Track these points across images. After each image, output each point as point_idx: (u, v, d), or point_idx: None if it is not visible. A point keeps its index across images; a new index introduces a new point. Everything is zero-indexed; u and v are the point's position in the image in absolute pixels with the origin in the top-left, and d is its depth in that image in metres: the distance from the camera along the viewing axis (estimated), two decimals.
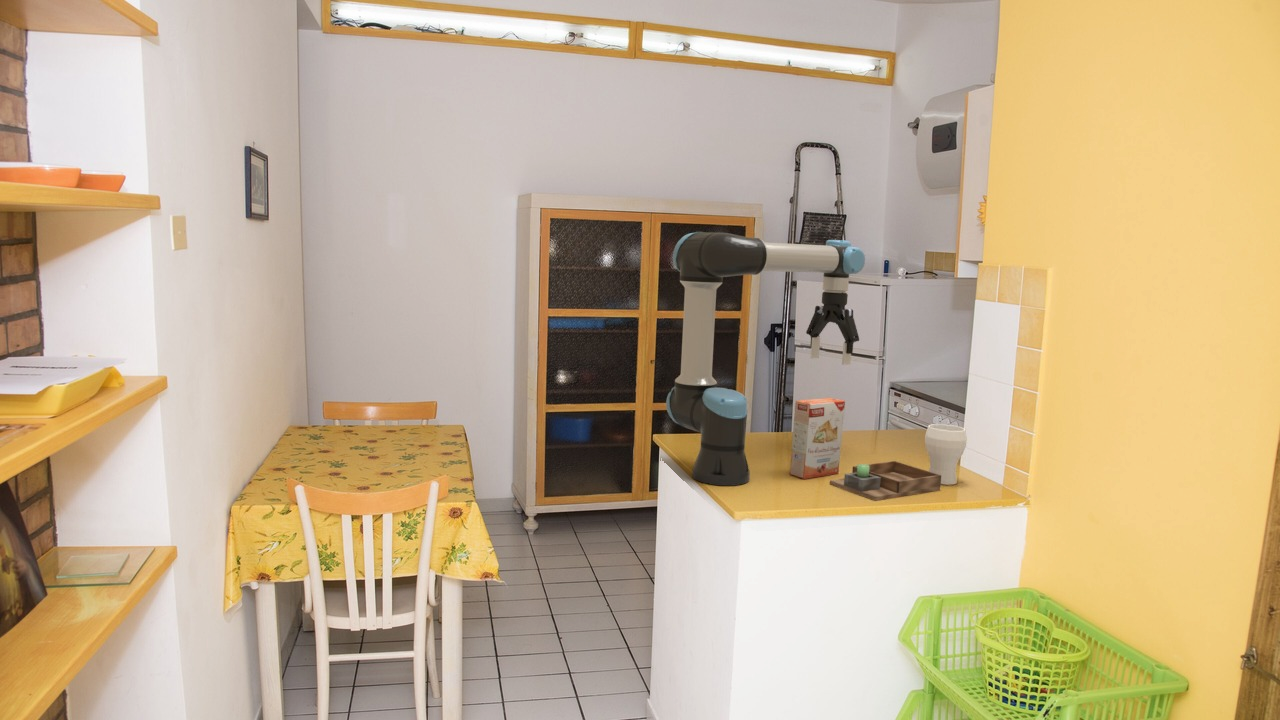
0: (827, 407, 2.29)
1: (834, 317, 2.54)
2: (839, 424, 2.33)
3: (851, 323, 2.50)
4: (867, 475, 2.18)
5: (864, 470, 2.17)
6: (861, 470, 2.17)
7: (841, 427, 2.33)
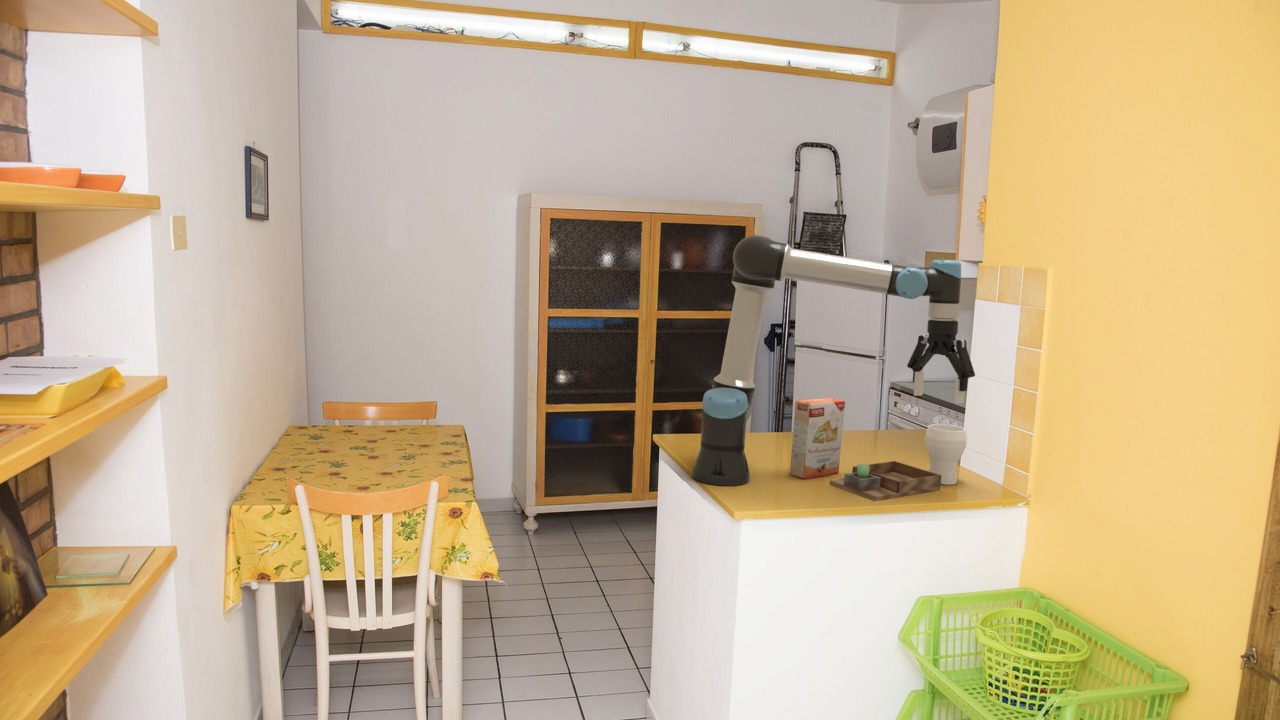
0: (828, 407, 2.29)
1: (943, 349, 2.20)
2: (839, 424, 2.33)
3: (965, 356, 2.16)
4: (867, 475, 2.18)
5: (864, 470, 2.17)
6: (861, 470, 2.17)
7: (841, 427, 2.33)
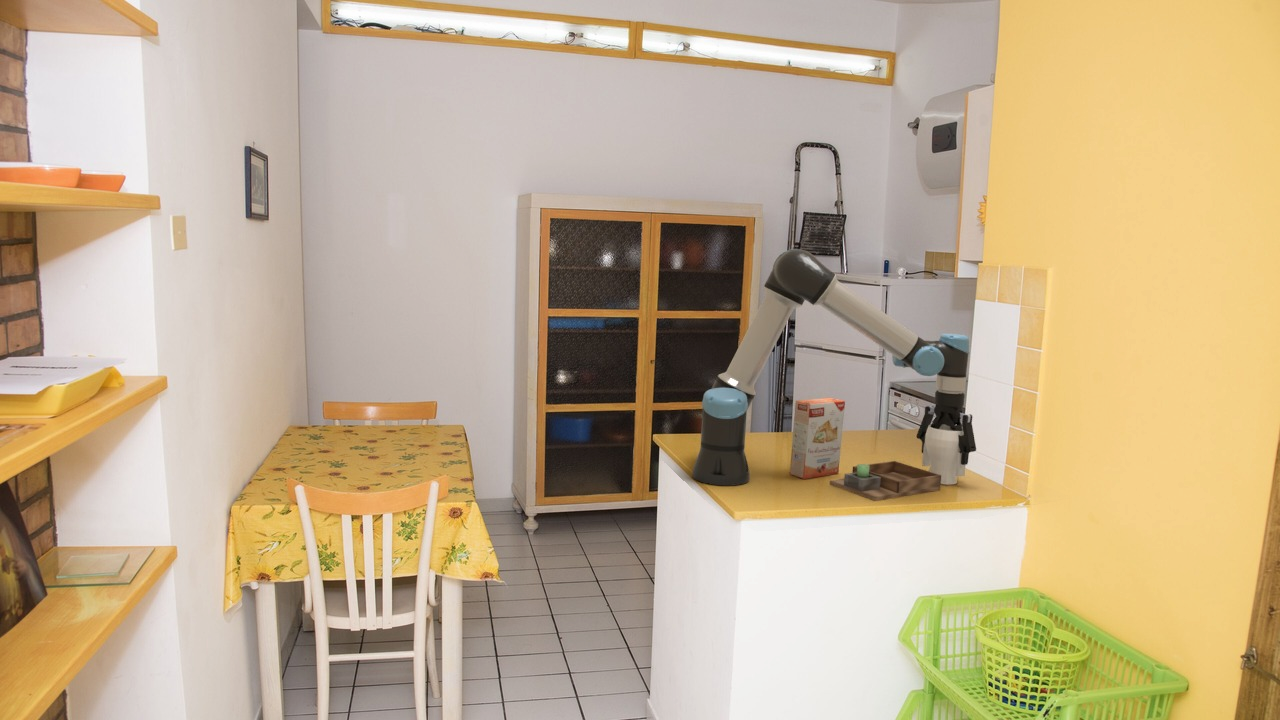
0: (827, 407, 2.29)
1: (949, 421, 2.27)
2: (839, 424, 2.33)
3: (969, 431, 2.24)
4: (867, 475, 2.18)
5: (864, 470, 2.17)
6: (861, 470, 2.17)
7: (841, 427, 2.33)
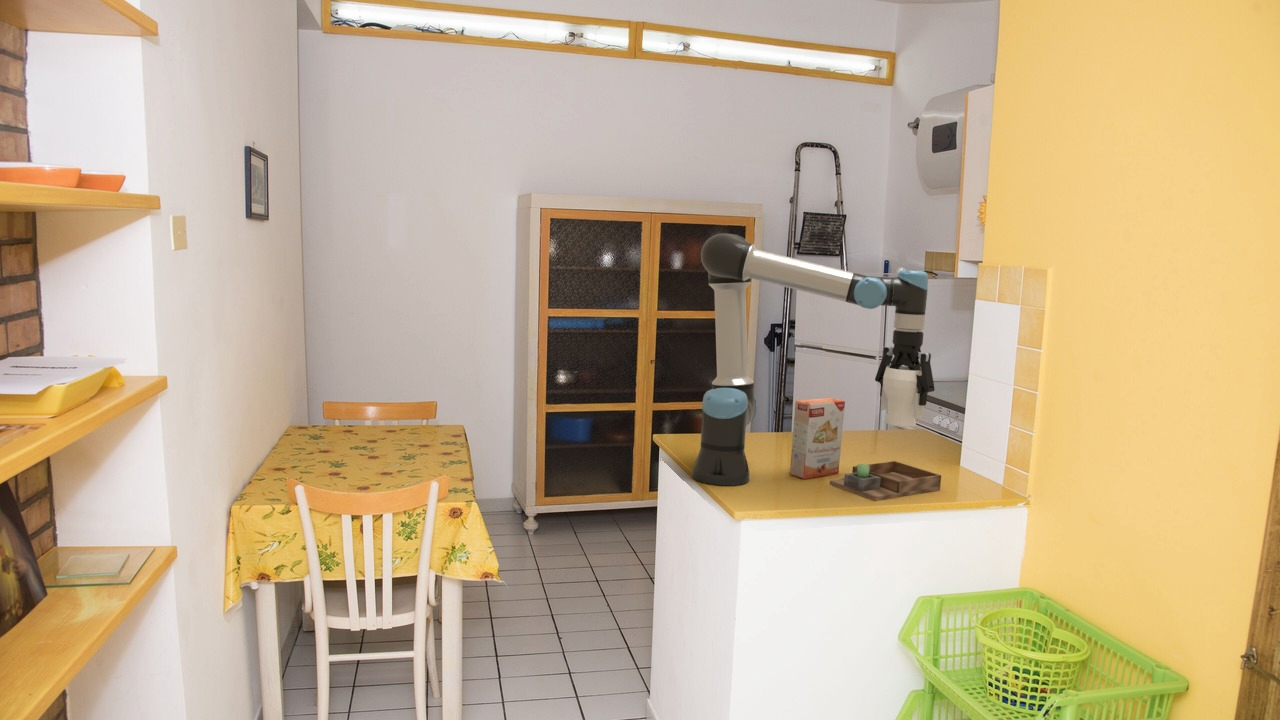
0: (827, 407, 2.29)
1: (907, 360, 2.19)
2: (839, 424, 2.33)
3: (927, 370, 2.15)
4: (867, 475, 2.18)
5: (864, 470, 2.17)
6: (861, 470, 2.17)
7: (841, 427, 2.33)
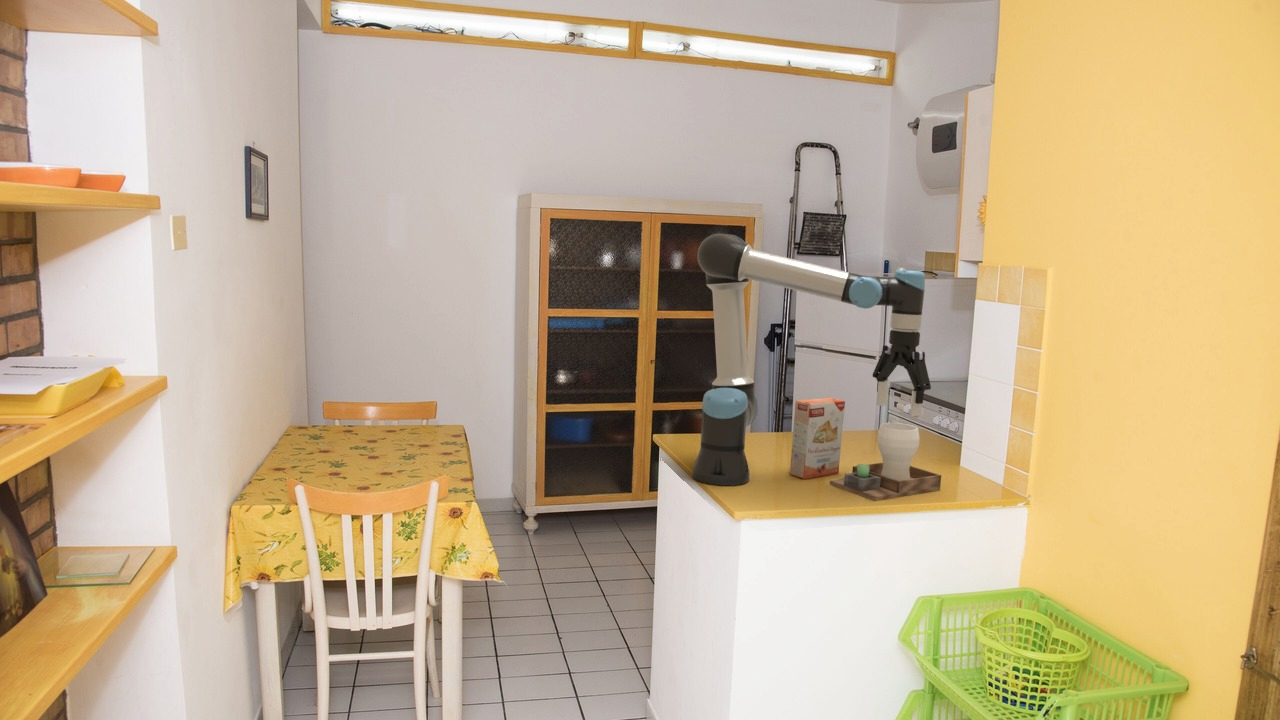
0: (827, 407, 2.29)
1: (902, 360, 2.18)
2: (839, 424, 2.33)
3: (922, 368, 2.14)
4: (867, 475, 2.18)
5: (864, 470, 2.17)
6: (861, 470, 2.17)
7: (841, 427, 2.33)
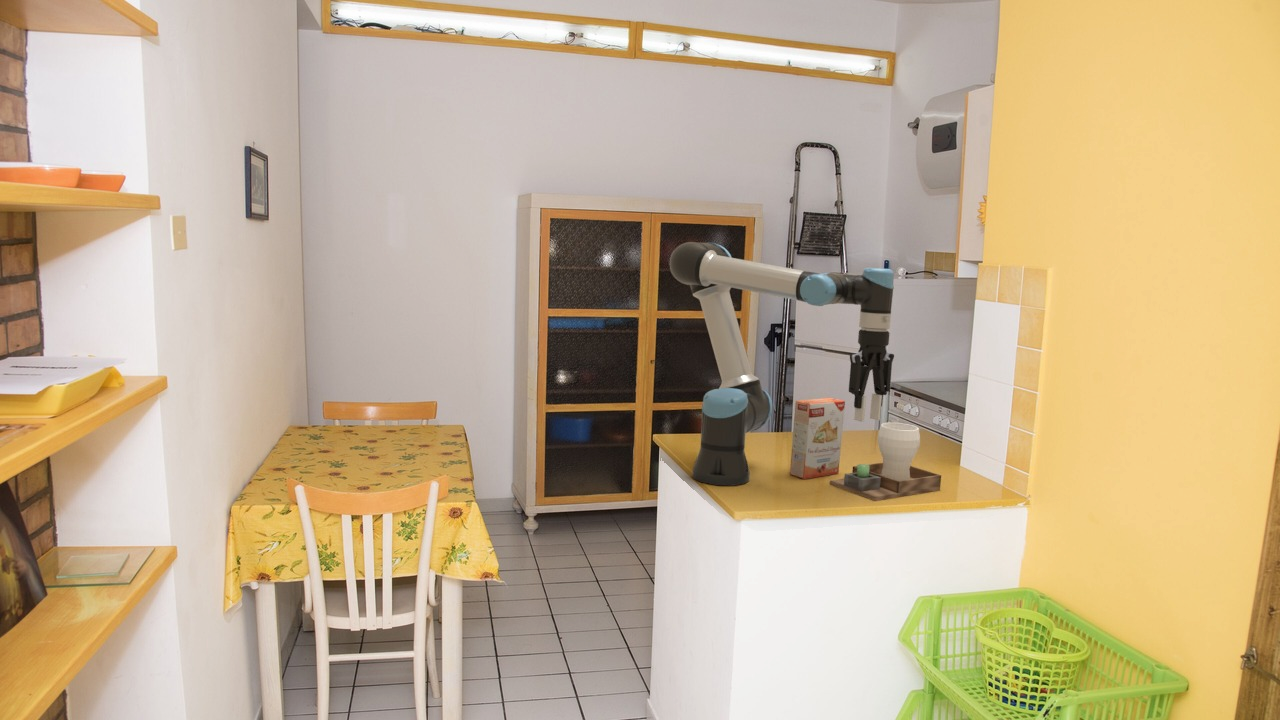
0: (827, 407, 2.29)
1: None
2: (839, 424, 2.33)
3: (852, 372, 2.12)
4: (867, 475, 2.18)
5: (864, 470, 2.17)
6: (861, 470, 2.17)
7: (841, 427, 2.33)
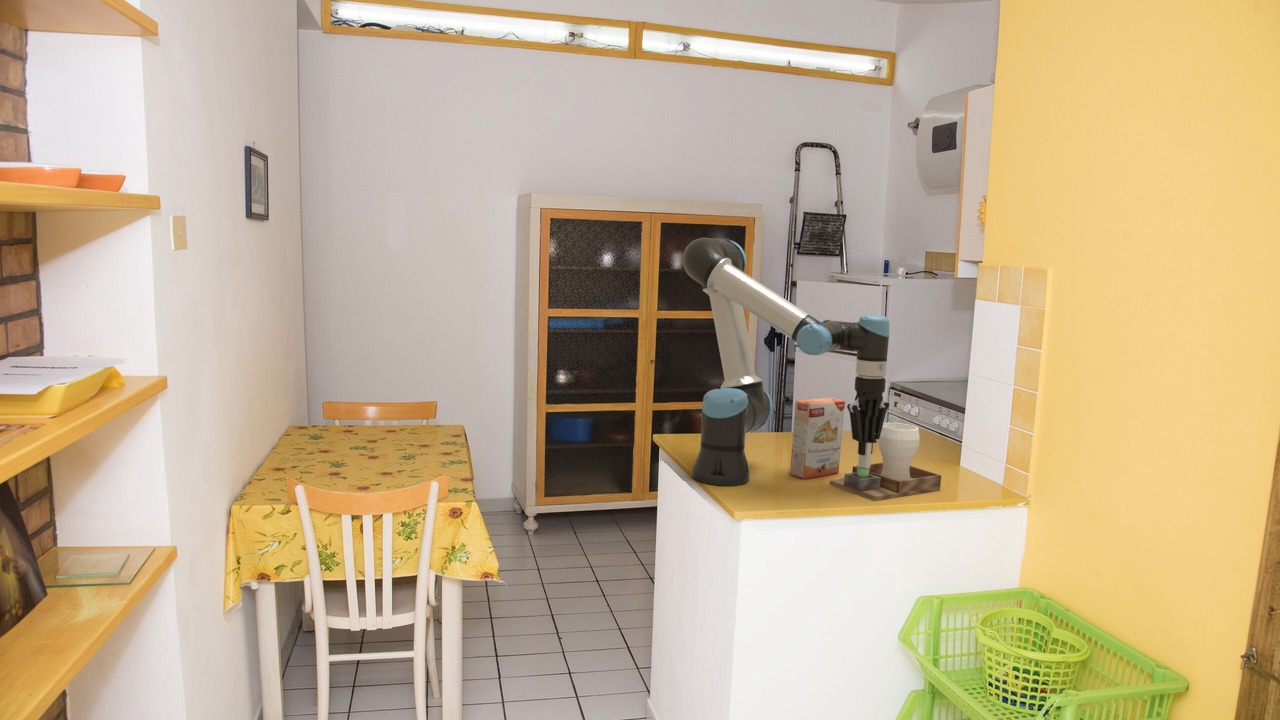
0: (828, 407, 2.29)
1: None
2: (839, 424, 2.33)
3: (853, 421, 2.15)
4: (867, 477, 2.18)
5: (863, 473, 2.17)
6: (861, 472, 2.17)
7: (841, 427, 2.33)
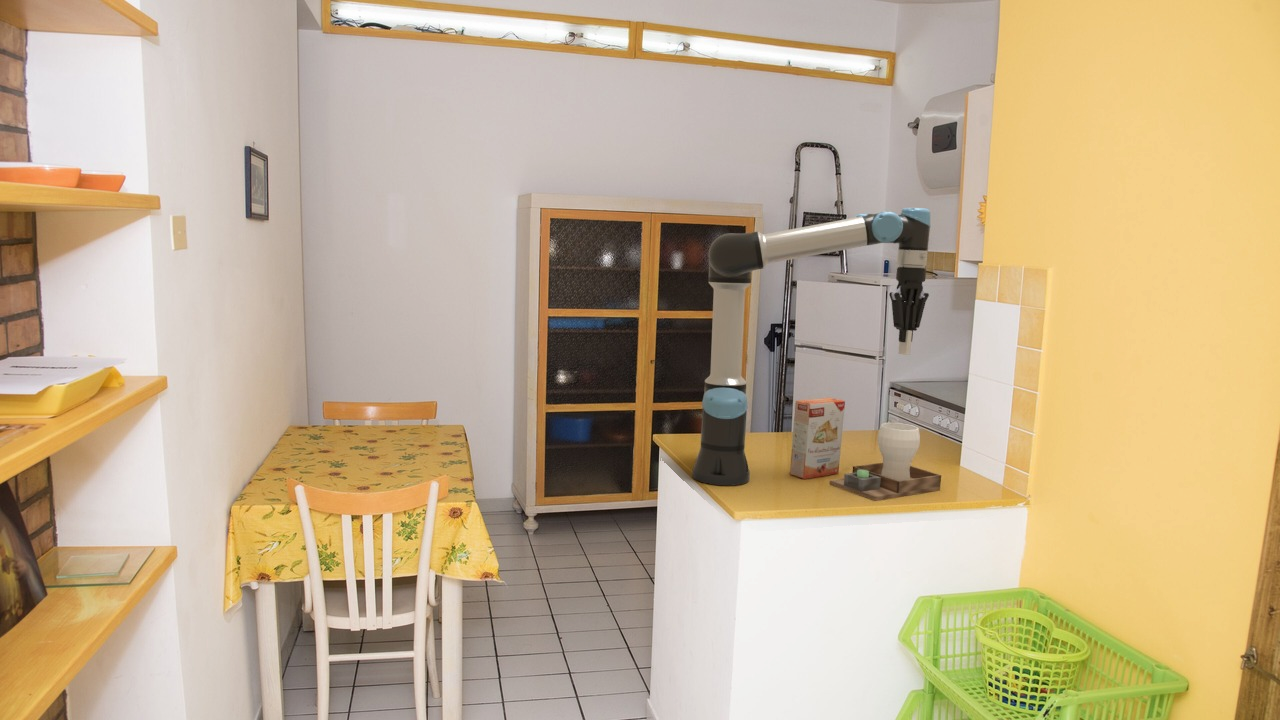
0: (827, 407, 2.29)
1: None
2: (839, 424, 2.33)
3: (895, 308, 2.26)
4: None
5: (863, 476, 2.17)
6: (861, 475, 2.18)
7: (841, 427, 2.33)
